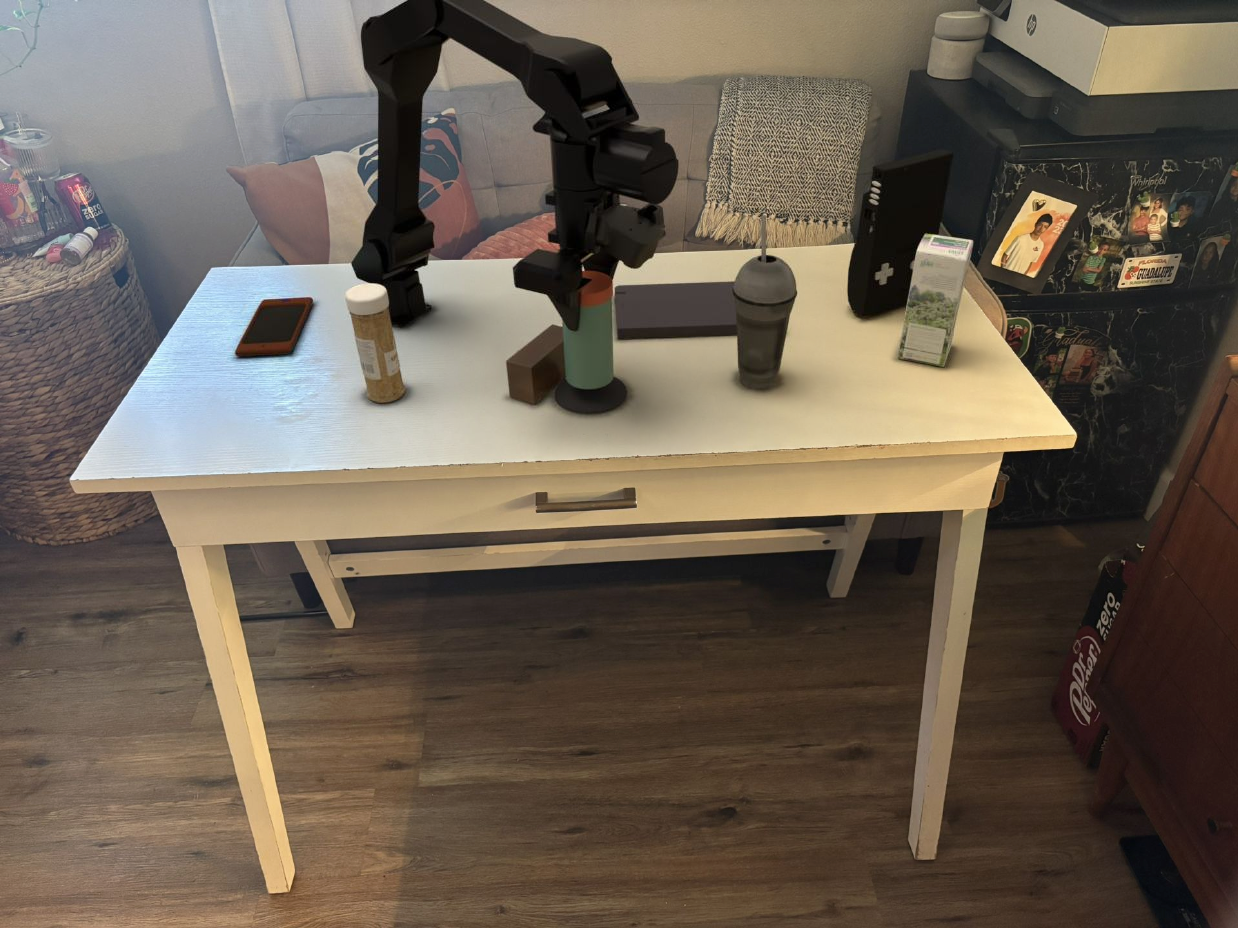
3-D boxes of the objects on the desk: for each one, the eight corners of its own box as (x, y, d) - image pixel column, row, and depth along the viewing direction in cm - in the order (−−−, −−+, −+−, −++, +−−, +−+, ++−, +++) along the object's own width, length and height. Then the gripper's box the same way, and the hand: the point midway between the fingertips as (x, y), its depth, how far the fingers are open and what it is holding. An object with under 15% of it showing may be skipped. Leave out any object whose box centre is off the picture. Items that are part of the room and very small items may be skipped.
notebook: (617, 339, 120) (781, 333, 121) (617, 328, 119) (782, 322, 120) (614, 295, 131) (765, 290, 131) (614, 285, 130) (766, 279, 130)
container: (508, 324, 106) (570, 267, 98) (536, 303, 110) (598, 247, 102) (577, 408, 108) (644, 360, 99) (603, 385, 112) (669, 336, 103)
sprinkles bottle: (411, 396, 110) (392, 292, 102) (375, 408, 108) (353, 303, 100) (396, 380, 113) (377, 278, 105) (360, 391, 111) (338, 288, 103)
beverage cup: (749, 401, 108) (761, 237, 96) (715, 373, 113) (723, 214, 101) (801, 385, 110) (818, 223, 98) (765, 358, 116) (778, 202, 104)
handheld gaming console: (863, 322, 123) (885, 172, 111) (840, 309, 126) (859, 161, 114) (930, 300, 127) (958, 153, 116) (906, 287, 131) (931, 143, 119)
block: (509, 397, 110) (505, 360, 107) (554, 359, 117) (552, 324, 114) (534, 405, 108) (531, 367, 105) (578, 366, 115) (576, 330, 112)
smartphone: (312, 295, 130) (289, 348, 118) (314, 301, 131) (291, 354, 119) (261, 298, 130) (233, 351, 118) (263, 304, 130) (235, 357, 118)
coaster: (540, 403, 108) (540, 400, 108) (578, 369, 114) (578, 366, 114) (604, 421, 105) (604, 418, 105) (640, 386, 111) (640, 383, 111)
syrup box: (951, 347, 117) (975, 237, 108) (943, 369, 113) (967, 257, 104) (905, 338, 119) (925, 230, 110) (896, 360, 115) (915, 249, 106)
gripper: (604, 227, 85) (608, 374, 94) (691, 165, 98) (688, 300, 107) (503, 207, 89) (517, 350, 99) (600, 150, 102) (604, 281, 112)
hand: (586, 319), depth 104 cm, fingers closed on container, 5 cm apart
